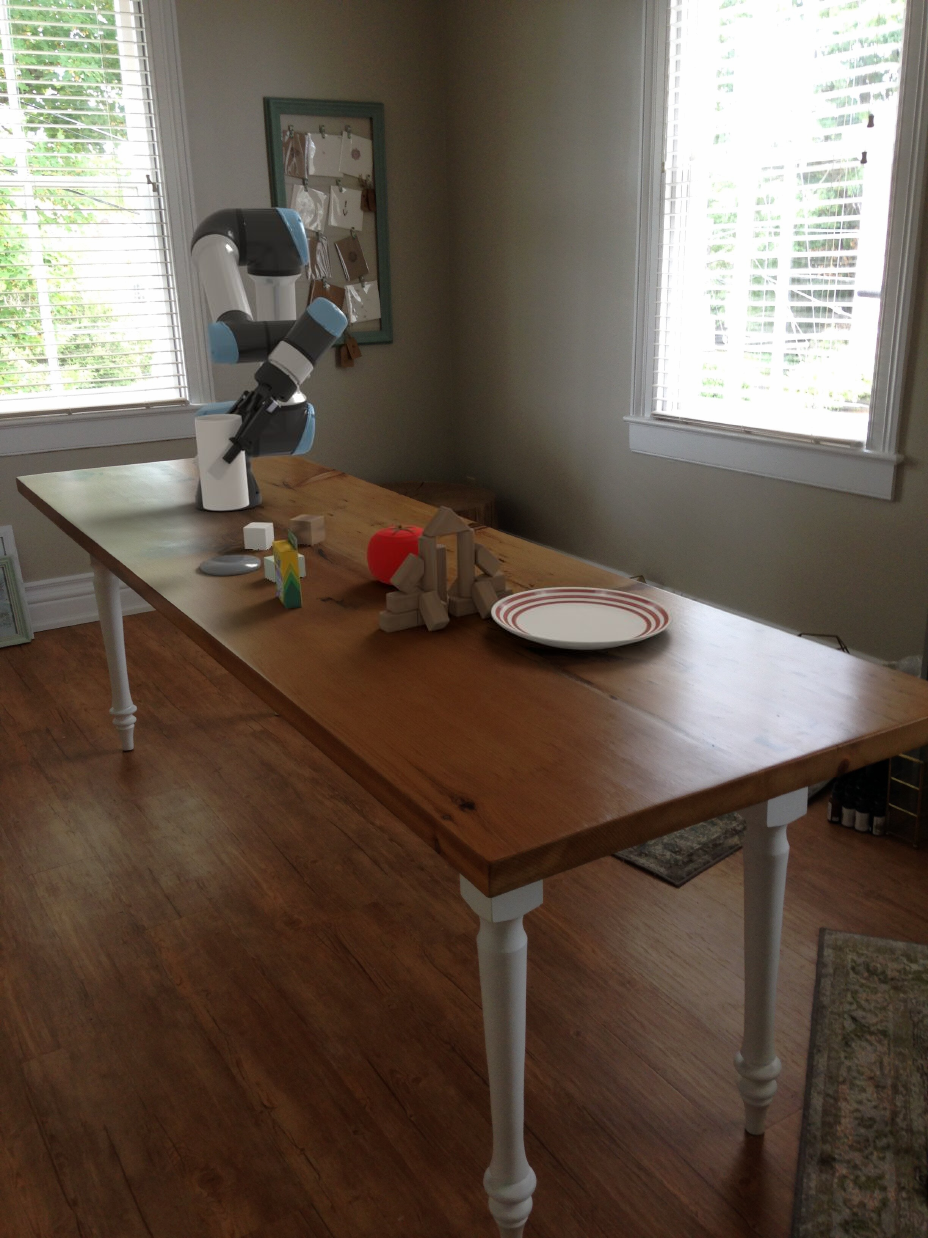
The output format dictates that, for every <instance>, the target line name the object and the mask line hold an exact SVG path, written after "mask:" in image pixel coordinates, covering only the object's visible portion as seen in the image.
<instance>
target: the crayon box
mask: <svg viewBox="0 0 928 1238" xmlns="http://www.w3.org/2000/svg"><path fill="white" fill-rule="evenodd" d="M287 536H288V537H287V539H283V540H274V541H273V542H272V544H273V546H272V552H273V553H272V554H273V555H274V565H275V576H276V583H275V587H276V595H277V597H278V599H279V600H280V602H281V603H282V604H283V606H284V607H285V609H286V610H288V609H296V608H302V607H303V598H302V587H301V578H300V574H299V561H298V554H299V552H298V551H299V550H298V544H297V538H295V536H294V535H293V534H292V533H291V532H290V529H289V528H287ZM291 537H292V538H293V539H294V542H292V540H291Z"/></svg>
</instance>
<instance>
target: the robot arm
mask: <svg viewBox="0 0 928 1238" xmlns="http://www.w3.org/2000/svg"><path fill="white" fill-rule="evenodd" d="M189 248H190V257H191V261H192V263H193V267H194V268H195V269H196V270H197V272H199V273H200V275H201V276H200V277H201V280H202V284H203V287H204V291H205V296H206V300H207V303H208V307H209V311H210V315H211V318H212V319H211V320H212V322H210V323H209V324H207V326H206V343H207V344H206V345H207V351H208V356H209V359H210V361H211V362H212V363H214V364H220V365H221V364H229V365H235V364H251V363H252V364H253V363H254V364H255V363H259V368H258V369H257V371H256V372H255V373H254V374H253V378H254V380H255V381H256V382H257V386H256V387H255V388H254V390H250V391H249V390H247V389H246V390H244V391H243V393H242V394H241V395H240V397H239V398H238V399H237V400H229V401H228V400H227V401H222V402H217V403H213V404H208V405H205V406H204V407H201V408H199V409H198V410H197V411H196V413H195V415H194V416H195V417H194V419H195V418H196V417H199V416H204V415H213V414H236V415H240V416H241V418H242V425H241V426H240V428H239V430H238V432H237V434H236V435H235V437H231V438H229V440H230V441H231V442H232V443H233V444H232V443H231V442H228V443H227V445H226V446H225V447H224V448H223V449H222V451H221V452H220V453H219V455H218V456H217V457H216V458H215V460H214V461H213V462H212V463H211V465H210V466H209V467H208V468H207V470H206V471H207V472H209V473H210V474H211V475H212V476H214V477H215V478H216V479H217V480H220V478H221V477H222V476H223V475H224V473H225V472H226V471H227V470H228V468H229V467H230V466H231V465H232V463H233V462H234V461H235V460H236V458H237V457H238V456H239V455H240V453H241V451H245V462H246V474H247V485H248V497H249V505H248V506H246V507H243V508H240V509H234V510H220V511H219V510H208V509H205V508H204V507H203V499H202V489H201V480H200V476H199V479H198V483H197V487H196V490H195V491H196V492H195V497H194V501H195V507H196V508H197V509H199V510H202V511H207V512H210V511H211V512H232V511H240V510H242V511H243V510H247V509H248V510H249V509H251V508H255V507H257V506H260V505H261V504H262V502H263V500H262V493H261V490H260V487H259V485H258V483H257V480H256V478H255V476H254V473H253V470H252V460H251V459H255V458H268V457H270V458H271V457H279V456H280V457H282V456H289V457H292V456H294V455H295V456H297V455H302V454H306V453H308V452H309V451H310V450H311V448H312V447H313V444H314V438H315V430H316V419H315V409H314V405H313V404H311V403H310V402H308V401H307V400H308V399H307V396H306V395H305V394H304V393H303V392H302V391H301V390H300V385H302V384H303V382H305V380H306V379H308V380H309V378H310V377H311V373H312V371H313V370H314V369H315V367H316V366H317V365H318V363H320V362H321V360H322V358H324V356H325V355H326V354H327V353H328V351H329V350H330V349H331V348H332V347H333V345H334V344H335V342H337V340H338V339H339V338H340V337H342V334H343V332H344V331H345V329H346V328H347V326H348V323H349V322H348V319H347V317H346V315H345V314H344V312H343V311H342V310H340V308H339V307H338V306H337V305H336V304H334V302H331V300H329V299H327V298H324V297H316V298H315V299H314V300H313V301H312V302H311V303H310V304H309V305H307V306H306V308H305V311H303V313H302V314H301V316H300V317H298V318H297V306H296V304H297V303H296V302H297V301H296V285H295V283H296V281H297V280H298V279H299V278H300V276H302V266H303V267H305V266H306V265H308V263H309V245H308V239H307V234H306V230H305V226H304V223H303V220H302V218H301V216H300V214H299V213H298V212H297V210H294V209H292V208H284V207H278V206H276V207H249V208H248V207H245V208H243V207H239V208H238V207H237V208H236V207H226V208H221V209H218V210H216V211H214V212H212V213H210V214H209V215H207V216H206V217H205V218H204V219H203V220H202V221H201V222H200V223H199V224H198V225H197V226H196V229H195V230H194V231H193V234H192V237H191V239H190V247H189ZM239 267H246V273H247V276H248V277H249V278H250V279H251V280H252V281H253V282H254V285H255V287H254V288H255V303H256V318H257V320H256V321H255V320H254V318H253V314H252V310H251V306H250V304H249V301H248V296H247V293H246V290H245V287H244V283H243V280H242V277H241V273H240V270H239ZM194 432H195V433H196V431H195V430H194ZM191 464H193V466H194V467H196V468H198V469H199V460H198V453H197V454H196V455H195V456H194V458H193V459H192V460H191Z"/></svg>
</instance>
